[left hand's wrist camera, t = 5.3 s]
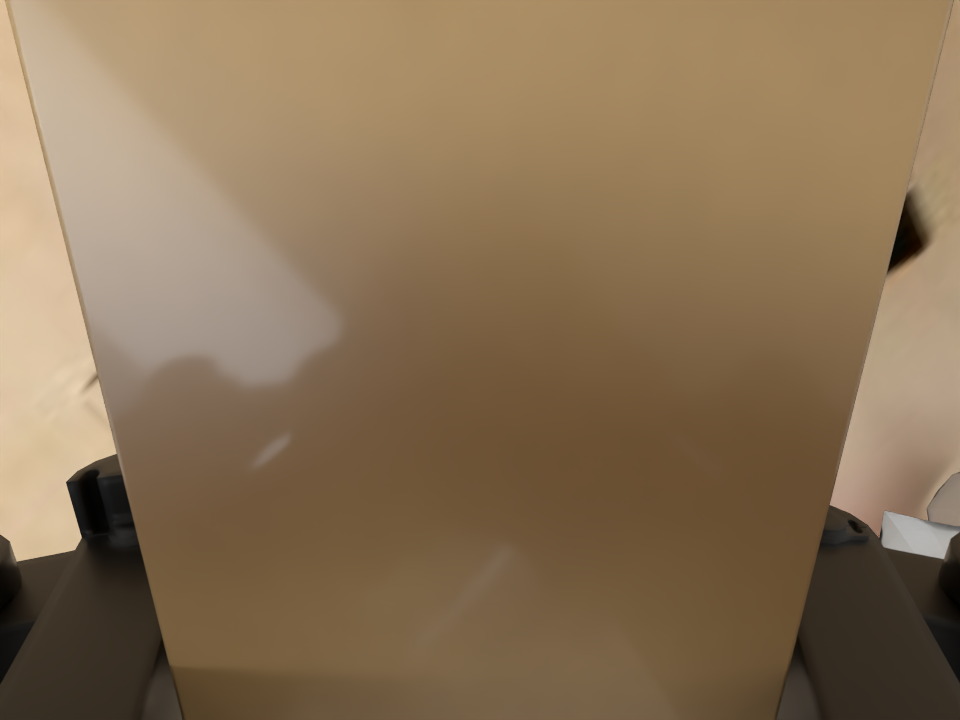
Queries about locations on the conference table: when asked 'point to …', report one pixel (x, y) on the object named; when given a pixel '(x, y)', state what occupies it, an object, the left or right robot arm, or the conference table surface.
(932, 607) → the left robot arm
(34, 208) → the conference table surface
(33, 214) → the conference table surface
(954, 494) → the fish
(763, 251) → the bar
